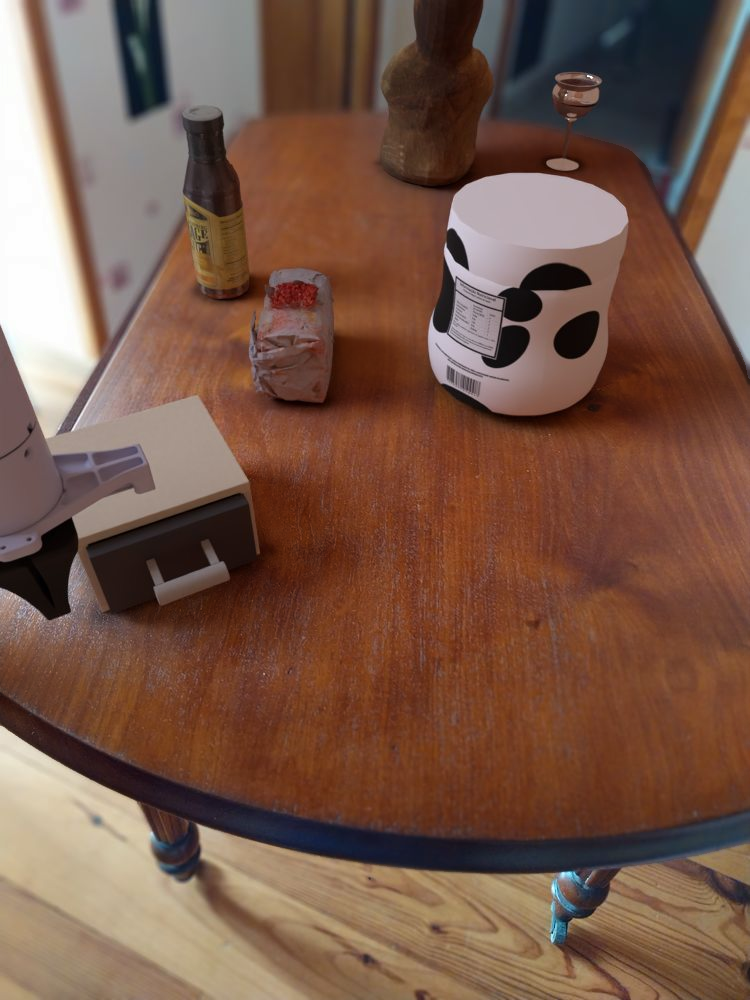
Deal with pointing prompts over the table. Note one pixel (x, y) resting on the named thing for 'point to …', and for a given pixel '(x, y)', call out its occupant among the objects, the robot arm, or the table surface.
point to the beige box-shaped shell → (156, 471)
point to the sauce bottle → (214, 207)
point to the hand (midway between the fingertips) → (56, 604)
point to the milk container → (526, 292)
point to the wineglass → (573, 106)
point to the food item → (294, 337)
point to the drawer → (175, 554)
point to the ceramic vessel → (436, 95)
